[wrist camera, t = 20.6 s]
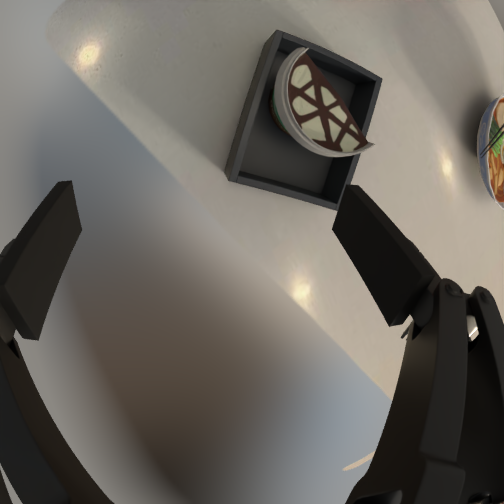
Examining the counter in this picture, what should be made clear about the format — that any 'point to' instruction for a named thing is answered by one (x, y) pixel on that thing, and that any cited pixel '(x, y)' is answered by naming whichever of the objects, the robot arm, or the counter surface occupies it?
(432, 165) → the counter surface
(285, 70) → the halved ice cream tub
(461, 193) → the counter surface
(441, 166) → the counter surface
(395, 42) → the counter surface
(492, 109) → the ramen bowl
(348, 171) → the bin
